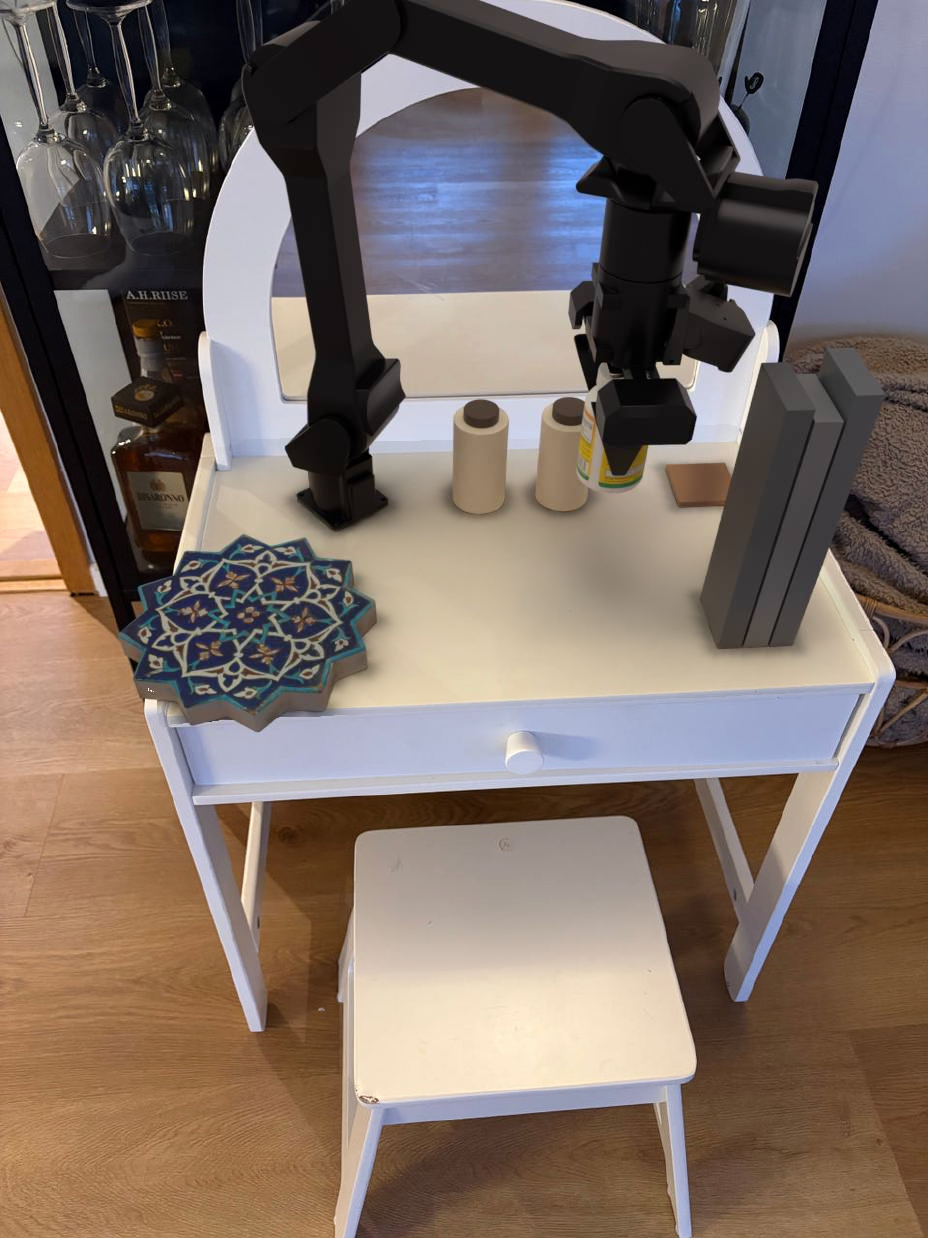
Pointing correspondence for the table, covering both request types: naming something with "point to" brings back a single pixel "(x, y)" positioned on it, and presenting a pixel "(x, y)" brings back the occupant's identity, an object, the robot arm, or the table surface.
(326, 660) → the decorative tile
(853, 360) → the grey grooved column
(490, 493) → the cream bottle
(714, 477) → the oak coaster
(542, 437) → the cream bottle
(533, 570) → the table surface
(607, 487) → the supplement bottle
